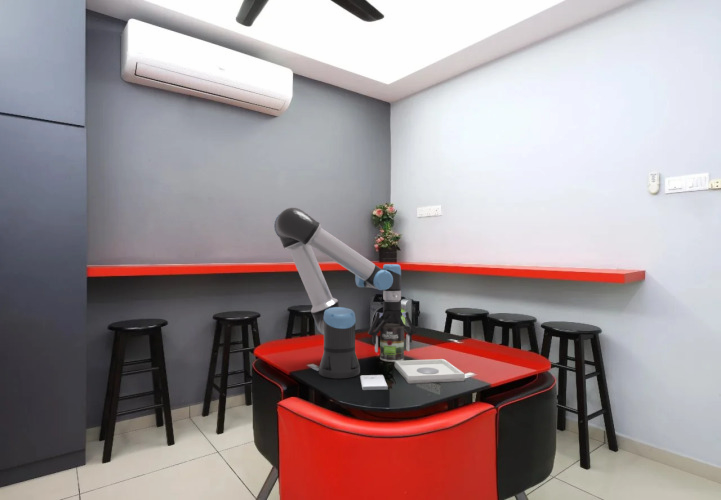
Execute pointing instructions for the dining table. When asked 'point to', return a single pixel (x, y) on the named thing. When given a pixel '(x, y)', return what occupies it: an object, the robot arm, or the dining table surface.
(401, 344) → the coffee can
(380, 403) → the dining table surface
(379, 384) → the external hard drive
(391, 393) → the dining table surface
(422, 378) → the tray
